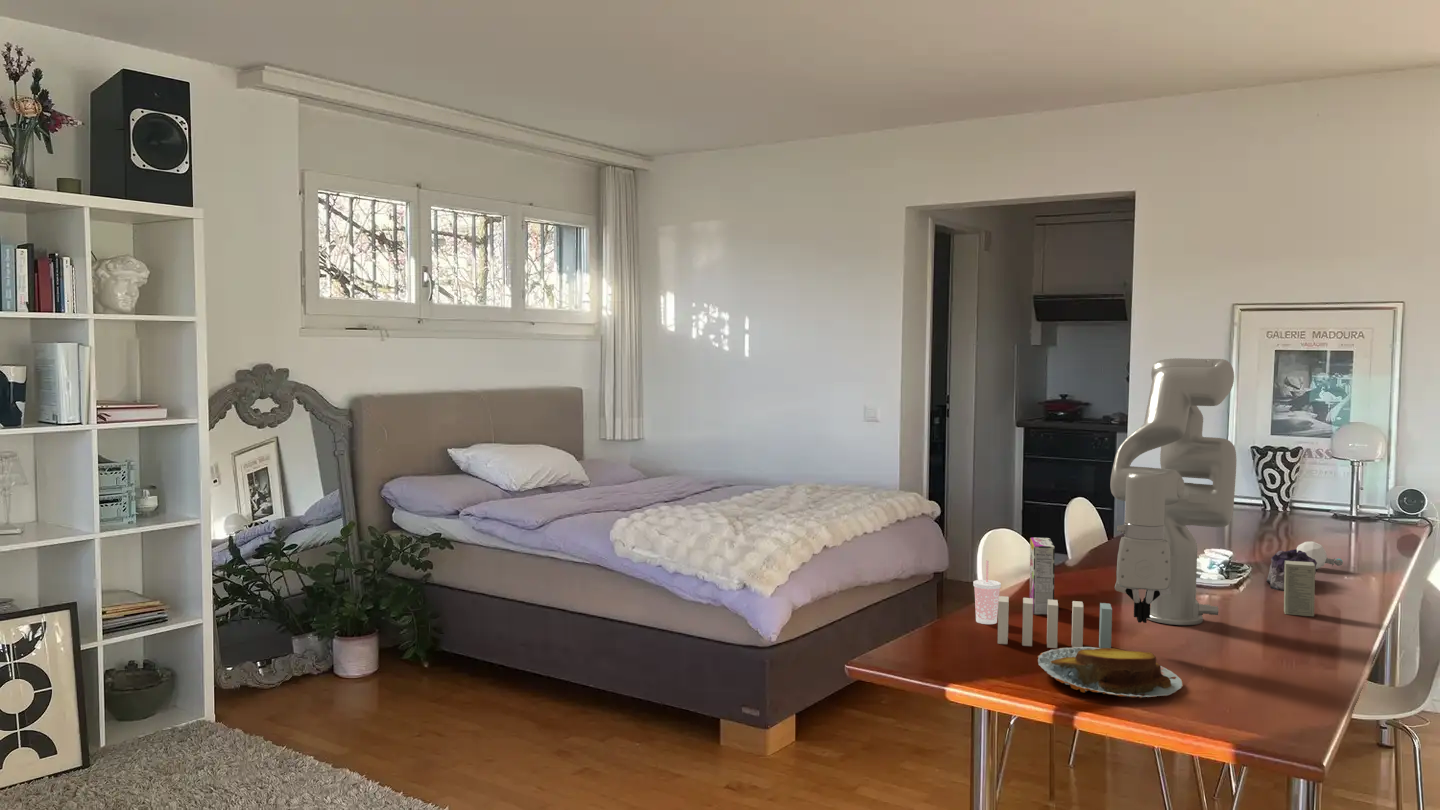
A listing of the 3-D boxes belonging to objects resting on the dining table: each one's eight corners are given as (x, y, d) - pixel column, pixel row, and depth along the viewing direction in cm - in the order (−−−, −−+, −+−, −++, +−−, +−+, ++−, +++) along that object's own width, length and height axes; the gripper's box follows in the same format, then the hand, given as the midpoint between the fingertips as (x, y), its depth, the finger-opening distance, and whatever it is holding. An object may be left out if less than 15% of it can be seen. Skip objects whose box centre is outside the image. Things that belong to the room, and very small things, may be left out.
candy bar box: (1028, 603, 258) (1029, 536, 257) (1049, 604, 257) (1050, 537, 256) (1032, 615, 247) (1033, 545, 246) (1054, 616, 246) (1056, 546, 245)
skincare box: (1312, 613, 250) (1314, 562, 249) (1314, 617, 246) (1316, 565, 245) (1282, 610, 252) (1284, 559, 252) (1283, 614, 248) (1285, 563, 248)
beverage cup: (985, 626, 237) (986, 564, 236) (966, 620, 242) (967, 559, 242) (1006, 623, 240) (1007, 561, 239) (987, 616, 245) (988, 557, 244)
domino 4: (1081, 643, 223) (1082, 601, 223) (1082, 650, 219) (1083, 607, 218) (1071, 643, 224) (1072, 601, 223) (1072, 649, 219) (1073, 606, 219)
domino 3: (1056, 641, 225) (1057, 599, 224) (1057, 648, 220) (1058, 605, 219) (1046, 641, 225) (1047, 599, 225) (1047, 647, 221) (1048, 604, 220)
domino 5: (1109, 646, 222) (1110, 603, 221) (1111, 652, 217) (1112, 609, 216) (1098, 645, 222) (1100, 602, 222) (1100, 651, 218) (1101, 608, 217)
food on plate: (1113, 656, 215) (1114, 624, 215) (1214, 695, 192) (1215, 659, 191) (1007, 670, 206) (1008, 636, 205) (1100, 713, 182) (1101, 675, 182)
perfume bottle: (1293, 551, 305) (1341, 560, 300) (1290, 572, 300) (1339, 581, 295) (1297, 532, 301) (1346, 541, 295) (1295, 553, 295) (1344, 562, 290)
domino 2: (1032, 639, 226) (1033, 598, 226) (1032, 646, 221) (1032, 603, 221) (1022, 639, 227) (1023, 597, 226) (1022, 645, 222) (1023, 603, 221)
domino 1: (1007, 638, 228) (1008, 596, 227) (1007, 644, 223) (1008, 602, 222) (998, 637, 228) (999, 596, 228) (997, 643, 223) (998, 601, 223)
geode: (1313, 595, 268) (1308, 556, 268) (1262, 595, 275) (1257, 557, 275) (1322, 578, 284) (1317, 541, 284) (1274, 578, 291) (1269, 542, 291)
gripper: (1106, 533, 215) (1104, 622, 216) (1186, 537, 211) (1183, 628, 212) (1104, 527, 222) (1101, 614, 223) (1181, 531, 218) (1178, 619, 219)
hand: (1141, 621), depth 217 cm, fingers closed
